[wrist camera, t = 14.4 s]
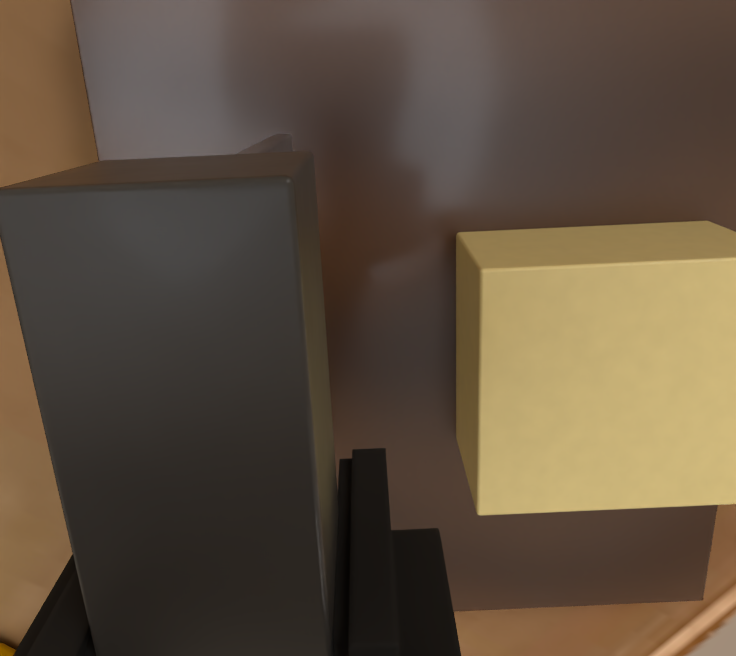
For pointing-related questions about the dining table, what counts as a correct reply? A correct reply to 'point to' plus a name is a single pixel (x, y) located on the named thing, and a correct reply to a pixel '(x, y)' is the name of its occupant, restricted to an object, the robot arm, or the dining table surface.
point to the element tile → (6, 650)
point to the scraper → (185, 395)
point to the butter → (597, 367)
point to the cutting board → (447, 210)
